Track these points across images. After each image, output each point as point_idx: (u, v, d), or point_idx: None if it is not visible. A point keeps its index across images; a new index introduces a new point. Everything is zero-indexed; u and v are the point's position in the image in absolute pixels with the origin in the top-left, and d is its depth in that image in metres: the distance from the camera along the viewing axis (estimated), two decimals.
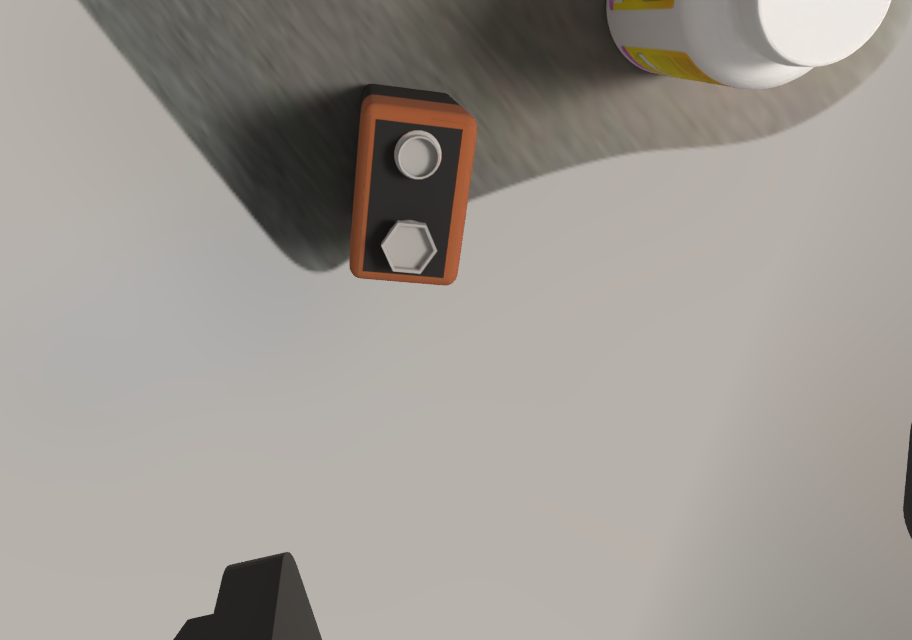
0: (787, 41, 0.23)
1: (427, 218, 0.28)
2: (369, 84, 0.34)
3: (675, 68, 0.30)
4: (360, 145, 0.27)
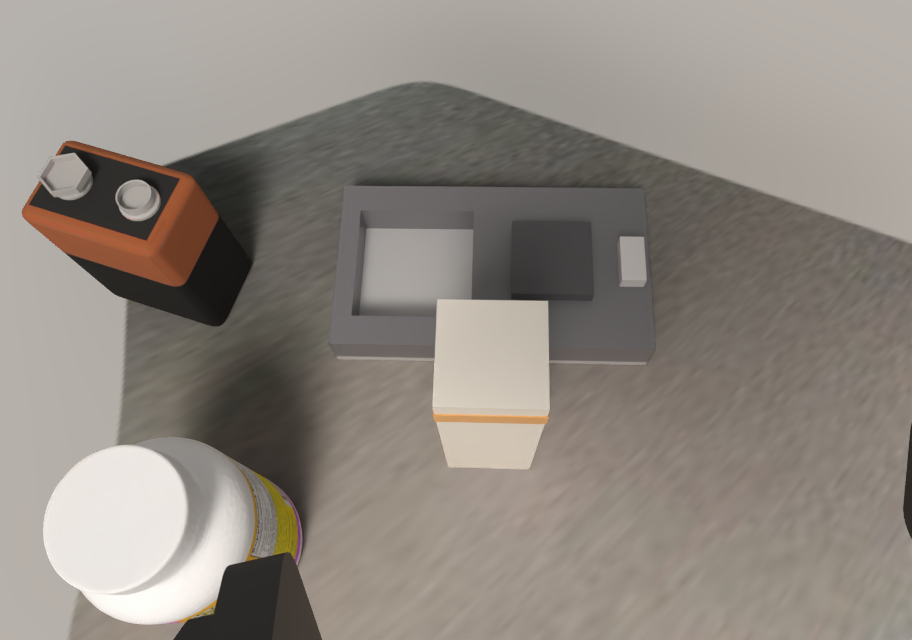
0: (82, 474, 0.24)
1: (85, 200, 0.32)
2: (249, 261, 0.40)
3: None
4: (166, 167, 0.33)
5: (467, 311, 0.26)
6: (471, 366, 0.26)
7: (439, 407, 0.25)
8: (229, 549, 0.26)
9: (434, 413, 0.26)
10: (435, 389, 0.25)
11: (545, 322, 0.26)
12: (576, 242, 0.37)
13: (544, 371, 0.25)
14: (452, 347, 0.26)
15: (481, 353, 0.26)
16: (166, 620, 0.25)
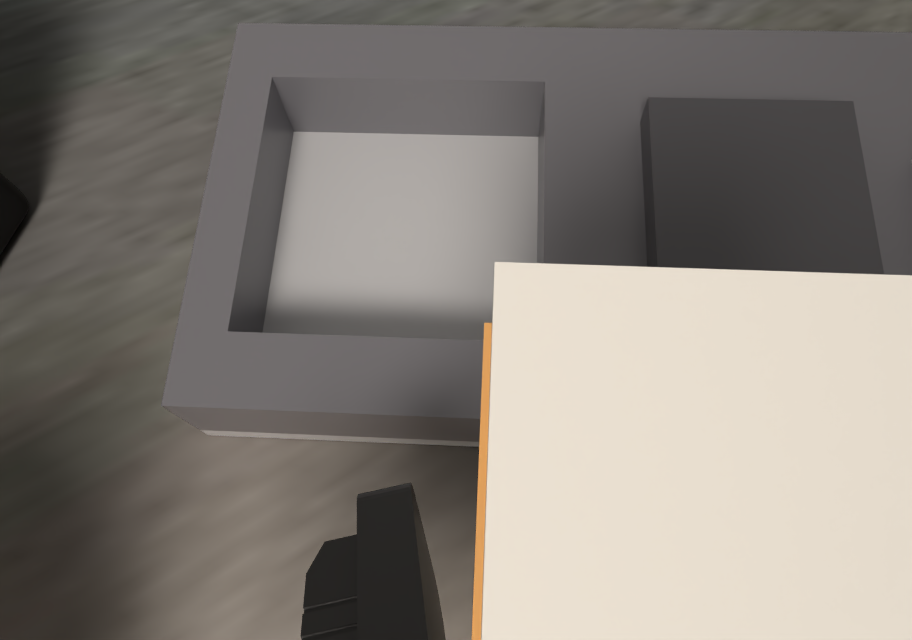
0: None
1: None
2: (18, 198, 0.17)
3: None
4: None
5: (719, 354, 0.04)
6: None
7: None
8: None
9: None
10: None
11: None
12: (820, 150, 0.14)
13: None
14: None
15: None
16: None
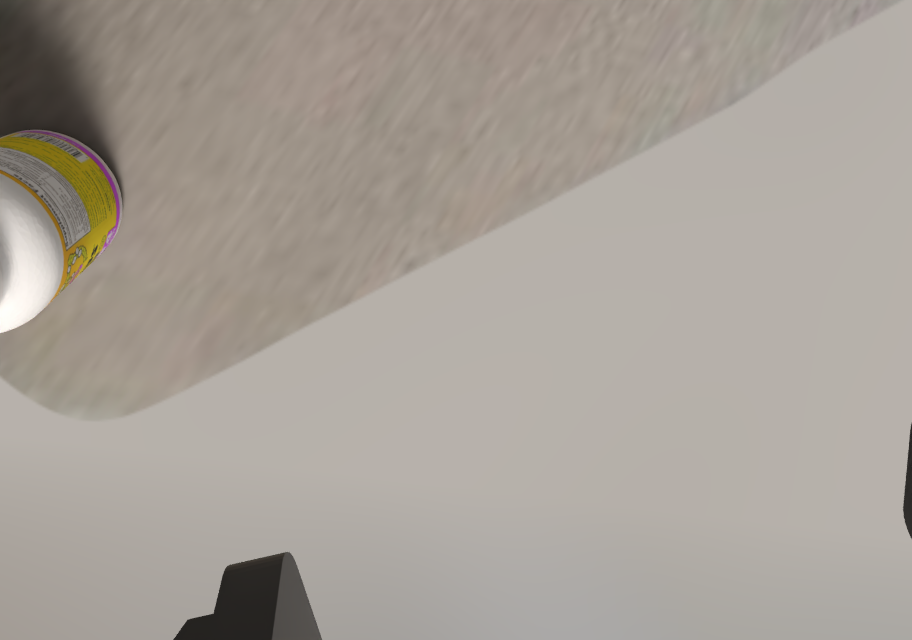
0: None
1: None
2: None
3: None
4: None
5: None
6: None
7: None
8: (42, 262, 0.27)
9: None
10: None
11: None
12: None
13: None
14: None
15: None
16: (19, 325, 0.28)
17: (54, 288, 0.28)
